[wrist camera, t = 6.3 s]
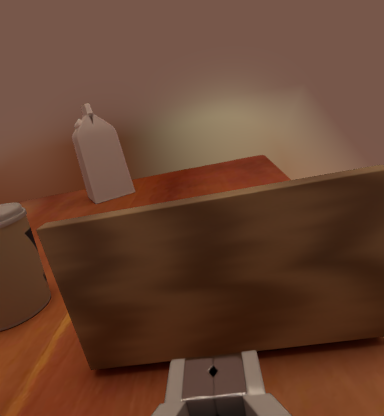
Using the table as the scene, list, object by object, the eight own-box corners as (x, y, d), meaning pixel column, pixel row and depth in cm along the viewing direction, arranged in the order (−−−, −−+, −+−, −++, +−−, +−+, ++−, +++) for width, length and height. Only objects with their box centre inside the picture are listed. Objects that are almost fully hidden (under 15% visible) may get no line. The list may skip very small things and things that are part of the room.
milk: (135, 192, 83) (110, 98, 75) (96, 204, 78) (65, 105, 71) (123, 187, 93) (101, 104, 86) (88, 197, 89) (60, 110, 81)
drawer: (315, 252, 33) (308, 143, 29) (389, 344, 20) (393, 167, 16) (135, 278, 36) (106, 180, 32) (93, 377, 22) (35, 229, 18)
